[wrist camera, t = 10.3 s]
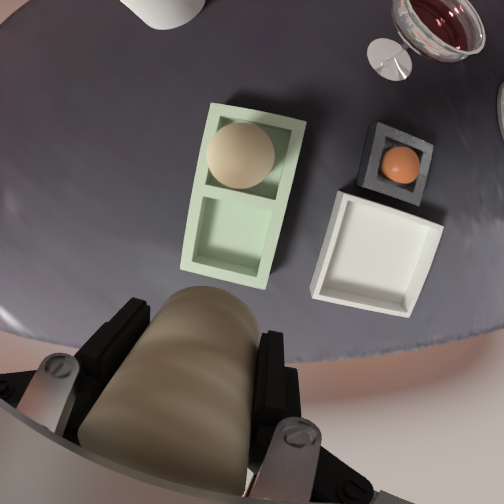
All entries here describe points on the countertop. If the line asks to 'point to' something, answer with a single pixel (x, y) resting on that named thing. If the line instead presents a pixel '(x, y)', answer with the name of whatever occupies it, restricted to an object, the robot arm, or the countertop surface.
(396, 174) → the button
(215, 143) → the cylinder
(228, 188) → the pale green flat tray
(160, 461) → the cylinder
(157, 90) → the countertop surface
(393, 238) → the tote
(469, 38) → the wineglass
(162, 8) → the cylindrical container
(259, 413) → the robot arm
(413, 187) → the button housing
